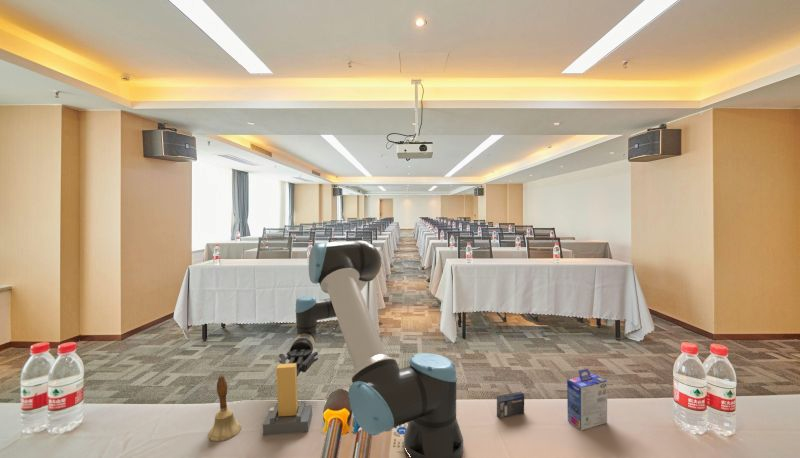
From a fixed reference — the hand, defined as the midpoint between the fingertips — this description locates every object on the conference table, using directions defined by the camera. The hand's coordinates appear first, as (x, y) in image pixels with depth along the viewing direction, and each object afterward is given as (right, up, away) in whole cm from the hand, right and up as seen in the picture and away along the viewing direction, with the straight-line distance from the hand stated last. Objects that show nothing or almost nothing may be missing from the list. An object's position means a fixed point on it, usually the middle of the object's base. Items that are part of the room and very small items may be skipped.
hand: (288, 380), depth 104 cm
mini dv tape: (+65, -11, +1) cm, 66 cm away
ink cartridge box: (+85, -11, -3) cm, 86 cm away
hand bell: (-16, -12, -5) cm, 21 cm away
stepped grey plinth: (+1, -12, -2) cm, 12 cm away
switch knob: (+1, -8, -2) cm, 9 cm away
